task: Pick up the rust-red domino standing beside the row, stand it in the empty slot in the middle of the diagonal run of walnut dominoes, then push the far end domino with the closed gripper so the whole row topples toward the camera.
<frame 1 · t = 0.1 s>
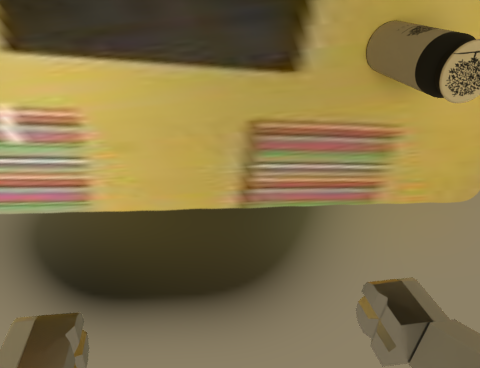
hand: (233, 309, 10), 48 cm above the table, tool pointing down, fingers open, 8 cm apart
travel mug: (387, 47, 57), on the table
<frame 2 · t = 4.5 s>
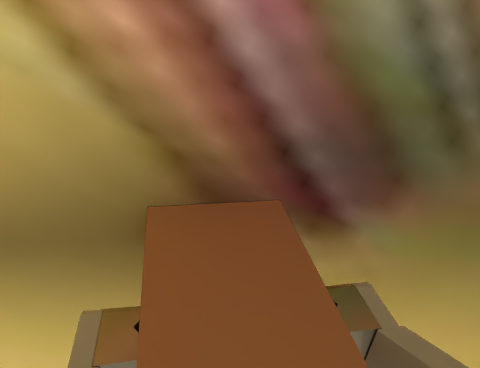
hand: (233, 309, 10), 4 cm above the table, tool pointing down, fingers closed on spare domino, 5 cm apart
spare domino: (215, 224, 14), on the table, touching gripper
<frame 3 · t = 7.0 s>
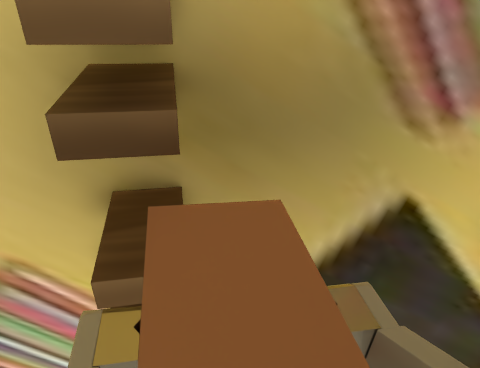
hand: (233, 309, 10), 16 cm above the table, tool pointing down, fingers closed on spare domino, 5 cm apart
domino 2: (149, 200, 27), on the table
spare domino: (216, 224, 14), point 12 cm above the table, touching gripper
domino 4: (133, 80, 22), on the table
when the fingers open (5 cm above the table, at t = 9.9 s): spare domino stays where it is, on the table.
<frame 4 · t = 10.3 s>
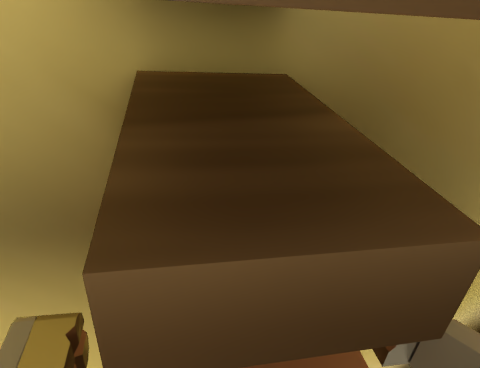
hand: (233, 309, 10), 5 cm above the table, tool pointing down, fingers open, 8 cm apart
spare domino: (212, 210, 14), on the table
domino 4: (214, 102, 12), on the table
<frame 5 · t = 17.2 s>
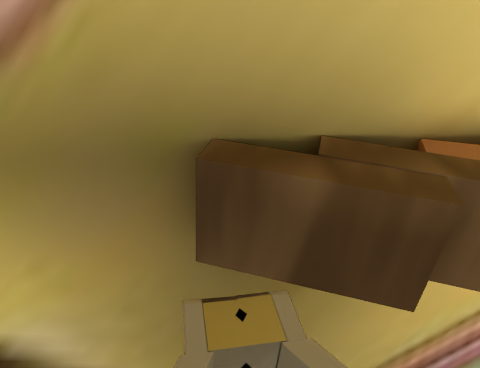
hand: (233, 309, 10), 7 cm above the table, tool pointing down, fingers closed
domino 2: (310, 195, 16), point 1 cm above the table, tilted 64°, touching domino 1, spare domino
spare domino: (409, 194, 17), point 1 cm above the table, tilted 63°, touching domino 2, domino 4
domino 1: (204, 201, 15), point 1 cm above the table, tilted 65°, touching domino 2
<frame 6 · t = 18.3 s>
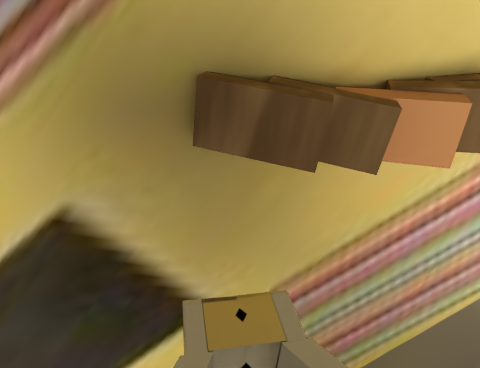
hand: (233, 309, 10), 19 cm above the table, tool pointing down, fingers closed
domino 2: (264, 111, 26), point 1 cm above the table, tilted 66°, touching domino 1, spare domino
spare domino: (331, 121, 28), point 1 cm above the table, tilted 64°, touching domino 2, domino 4
domino 5: (422, 108, 29), on the table, tilted 90°, touching domino 4
domino 4: (383, 114, 28), point 1 cm above the table, tilted 66°, touching domino 5, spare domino
domino 1: (199, 109, 25), point 1 cm above the table, tilted 66°, touching domino 2
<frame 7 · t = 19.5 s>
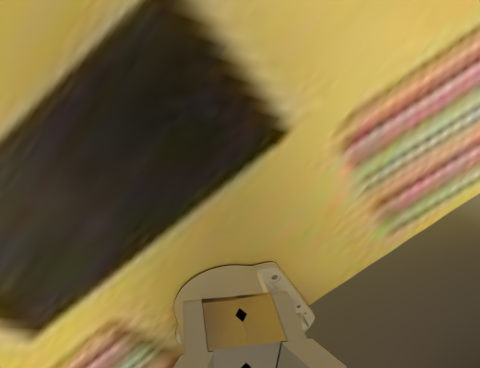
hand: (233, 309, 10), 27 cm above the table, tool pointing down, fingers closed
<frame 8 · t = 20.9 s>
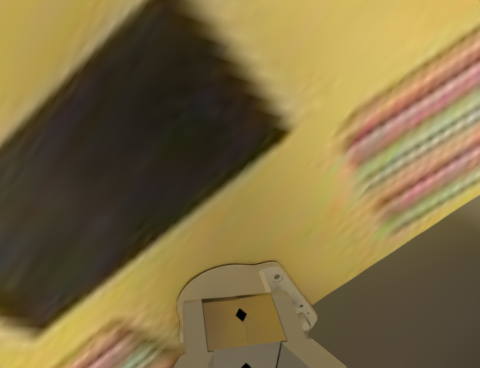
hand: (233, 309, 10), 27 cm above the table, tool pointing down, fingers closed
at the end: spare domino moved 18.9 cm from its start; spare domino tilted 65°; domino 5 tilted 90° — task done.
